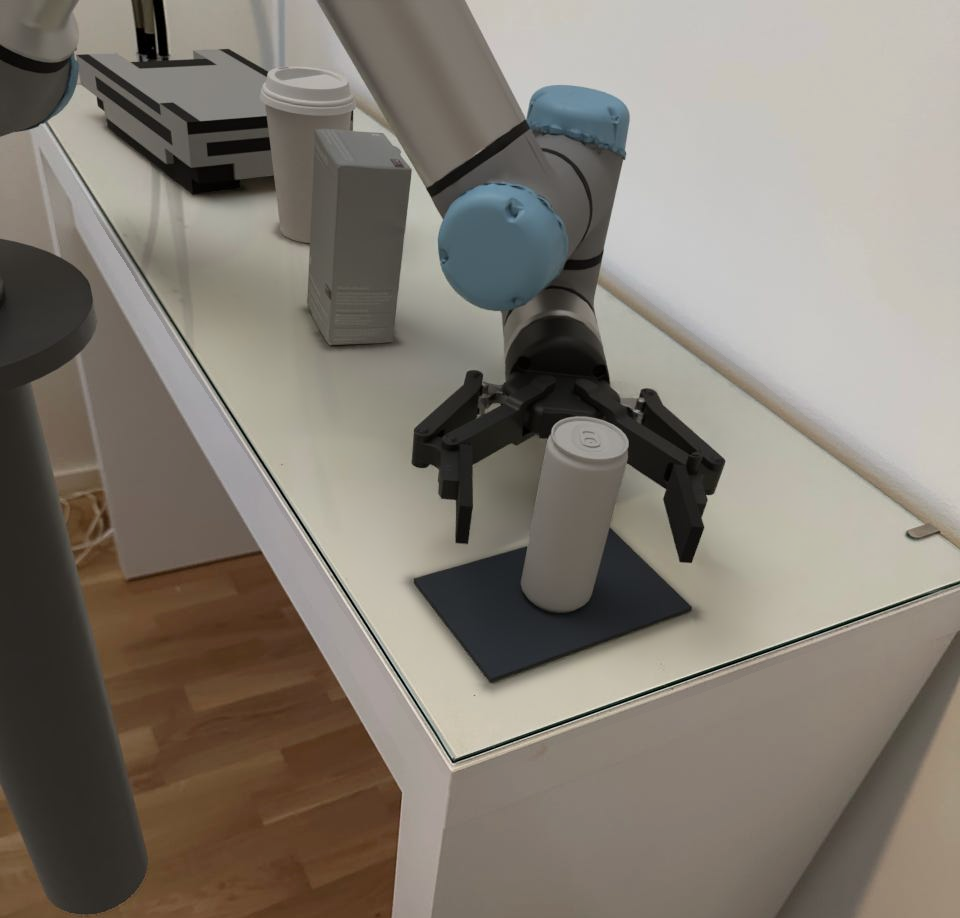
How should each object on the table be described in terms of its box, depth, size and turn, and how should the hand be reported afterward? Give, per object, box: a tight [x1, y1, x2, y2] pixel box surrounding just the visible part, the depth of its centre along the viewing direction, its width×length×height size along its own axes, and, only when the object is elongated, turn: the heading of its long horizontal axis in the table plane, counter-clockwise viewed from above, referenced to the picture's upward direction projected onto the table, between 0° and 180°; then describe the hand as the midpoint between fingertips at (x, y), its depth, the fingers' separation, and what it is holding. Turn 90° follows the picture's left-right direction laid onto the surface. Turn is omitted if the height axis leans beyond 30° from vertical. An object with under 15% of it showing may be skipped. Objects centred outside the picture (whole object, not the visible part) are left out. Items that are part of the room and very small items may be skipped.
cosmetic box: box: [306, 129, 413, 346], centre depth 81 cm, size 8×7×16 cm
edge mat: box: [413, 527, 693, 684], centre depth 61 cm, size 10×16×1 cm, turn 121°
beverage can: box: [521, 417, 629, 613], centre depth 57 cm, size 5×5×12 cm
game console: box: [75, 48, 354, 195], centre depth 114 cm, size 21×32×8 cm, turn 38°
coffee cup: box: [260, 65, 357, 244], centre depth 96 cm, size 10×10×15 cm
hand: (579, 535), depth 54 cm, fingers open, 13 cm apart
